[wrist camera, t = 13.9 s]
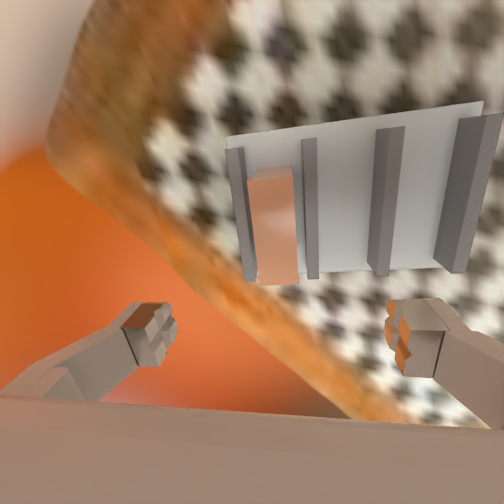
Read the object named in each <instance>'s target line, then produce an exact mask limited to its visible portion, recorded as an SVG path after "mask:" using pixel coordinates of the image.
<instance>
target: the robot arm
mask: <svg viewBox="0 0 504 504" xmlns="http://www.w3.org/2000/svg"><path fill="white" fill-rule="evenodd" d="M386 310H387V312H388V314H389V317H388V318H387V319H386V320H385V337H386V340H387V343H388V345H389V348H390V349H392V350H393V351H394V352H396V353H395V361H396V363H397V365H398V367H399V369H400V371H401V373H402V375H403V376H408V377H424V378H434V379H433V380H435V381H436V382H437V383H438V384H439V385H441V386H442V387H443V388H444V389H445V390H447V391H448V392H449V393H450V394H451V395H452V396H454V397H455V398H456V399H457V400H458V401H460V402H461V403H462V404H463V405H464V406H466V407H467V408H468V409H469V410H470V411H471V412H473V413H474V414H475V415H476V416H477V417H479V418H480V419H481V420H482V421H483V422H485V423H486V424H487V425H488V426H489V427H490V428H492V429H479V428H464V427H450V426H436V425H422V424H408V423H393V422H379V421H365V420H351V419H336V418H322V417H308V416H294V415H281V414H265V413H252V412H238V411H224V410H209V409H195V408H180V407H167V406H151V405H139V404H138V405H137V404H124V403H110V402H98V401H99V400H100V399H101V398H102V397H104V396H105V395H106V394H107V393H108V392H110V391H111V390H112V389H113V388H114V387H116V386H117V385H118V384H119V383H120V382H122V381H123V380H124V379H125V378H126V377H128V376H129V375H130V374H131V373H133V372H134V371H135V370H136V369H137V368H138V367H159V366H160V364H161V363H162V361H163V359H164V357H165V356H166V354H167V349H166V348H167V347H169V346H170V345H171V344H173V342H174V340H175V338H176V334H177V324H176V321H175V319H174V318H173V317H172V316H171V313H172V308H171V305H170V304H169V303H166V302H145V303H144V302H134V303H131V304H130V305H129V306H128V307H127V308H126V309H125V310H124V311H123V312H122V313H121V314H120V315H119V316H118V317H117V318H116V319H115V320H114V321H113V322H112V323H111V324H110V325H109V326H108V327H107V328H106V329H101V330H99V331H97V332H95V333H93V334H91V335H89V336H87V337H85V338H83V339H81V340H79V341H77V342H75V343H73V344H71V345H69V346H67V347H65V348H63V349H61V350H59V351H57V352H56V353H53V354H51V355H49V356H48V357H45V358H43V359H42V360H40V361H38V362H36V363H34V364H32V365H30V366H29V367H28V368H27V369H26V370H25V371H23V372H22V373H21V374H20V375H19V376H18V377H16V378H15V379H14V380H13V381H12V382H11V383H10V384H8V385H7V386H6V387H5V388H4V389H3V390H2V391H0V504H504V344H503V343H501V342H499V341H497V340H495V339H492V338H490V337H488V336H486V335H484V334H482V333H480V332H475V331H471V330H470V329H469V328H468V327H467V326H466V325H465V324H464V323H463V321H462V320H461V319H460V318H459V317H458V316H457V315H456V314H455V313H454V312H453V311H452V310H451V309H450V308H449V306H448V305H447V304H446V303H445V302H444V301H443V300H442V299H440V298H425V299H402V300H389V301H388V303H387V309H386Z"/></svg>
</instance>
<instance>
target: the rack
mask: <svg viewBox="0 0 504 504" xmlns="http://www.w3.org/2000/svg"><path fill="white" fill-rule="evenodd" d="M483 104H484V101H479V102H471V103H464V104H457V105H450V106H443V107H436V108H428V109H421V110H414V111H407V112H400V113H392V114H385V115H378V116H371V117H364V118H356V119H349V120H342V121H335V122H328V123H321V124H313V125H306V126H299V127H292V128H285V129H277V130H270V131H263V132H256V133H249V134H242V135H234V136H227V137H225V138H226V144H227V149H225V152H226V159H227V166H228V172H229V179H230V185H231V192H232V199H233V205H234V212H235V219H236V225H237V232H238V238H239V245H240V252H241V258H242V265H243V272H244V278H245V282H255V280H256V276H257V275H259V274H258V267H257V259H256V251H255V243H254V235H253V227H252V219H251V211H250V203H249V195H248V187H247V180H248V179H249V178H250V177H251V176H252V175H253V174H254V173H255V172H256V171H257V170H258V169H266V168H275V167H283V166H291V167H292V173H293V185H294V204H295V222H296V241H297V259H298V274H300V273H307V276H308V279H319V273H323V272H346V271H369V270H373V272H374V273H375V275H376V276H377V277H381V276H389V270H392V269H415V268H438V267H444V268H445V269H446V270H448V271H449V272H450V273H451V274H457V273H465V271H466V267H467V263H468V259H469V255H470V251H471V246H472V242H473V238H474V234H475V230H476V226H477V222H478V218H479V214H480V210H481V206H482V202H483V198H484V194H485V190H486V186H487V182H488V178H489V174H490V170H491V166H492V162H493V158H494V154H495V150H496V146H497V142H498V138H499V133H500V129H501V125H502V121H503V117H504V113H499V114H492V115H484V116H481V113H482V109H483Z"/></svg>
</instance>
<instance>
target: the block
mask: <svg viewBox="0 0 504 504" xmlns="http://www.w3.org/2000/svg"><path fill="white" fill-rule="evenodd" d="M247 187H248V195H249V203H250V211H251V219H252V227H253V235H254V243H255V251H256V259H257V267H258V274H259V282H260V285H287V284H299V278H298V259H297V241H296V222H295V204H294V185H293V173H292V167H291V166H283V167H275V168H266V169H258V170H257V171H256V172H255V173H254V174H253V175H252V176H251V177H250V178H249V179H248V180H247Z"/></svg>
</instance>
